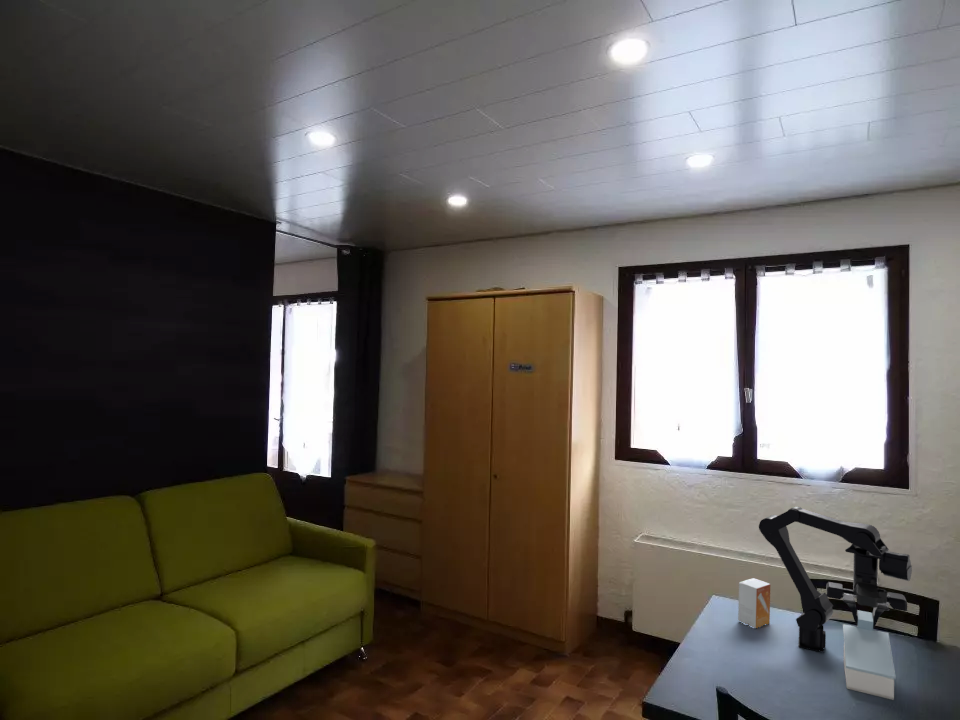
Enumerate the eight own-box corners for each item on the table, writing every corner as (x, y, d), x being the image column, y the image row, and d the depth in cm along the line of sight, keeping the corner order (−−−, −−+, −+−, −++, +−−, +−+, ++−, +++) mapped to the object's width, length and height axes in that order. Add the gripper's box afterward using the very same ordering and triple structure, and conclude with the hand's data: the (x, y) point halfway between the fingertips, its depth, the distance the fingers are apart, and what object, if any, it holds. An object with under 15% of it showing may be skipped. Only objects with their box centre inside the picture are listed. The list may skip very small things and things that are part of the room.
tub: (846, 688, 152) (847, 669, 152) (843, 661, 166) (843, 643, 166) (893, 700, 147) (894, 680, 147) (886, 671, 161) (886, 653, 161)
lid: (845, 668, 153) (846, 656, 152) (842, 617, 170) (842, 607, 169) (895, 679, 148) (896, 667, 147) (886, 626, 165) (887, 615, 164)
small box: (755, 629, 185) (756, 588, 185) (737, 622, 190) (738, 582, 191) (770, 624, 190) (771, 583, 190) (752, 616, 195) (752, 577, 195)
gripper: (827, 573, 163) (827, 629, 163) (910, 586, 154) (909, 646, 154) (826, 561, 173) (825, 615, 173) (904, 573, 164) (903, 630, 164)
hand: (864, 626), depth 165 cm, fingers closed on lid, 3 cm apart
